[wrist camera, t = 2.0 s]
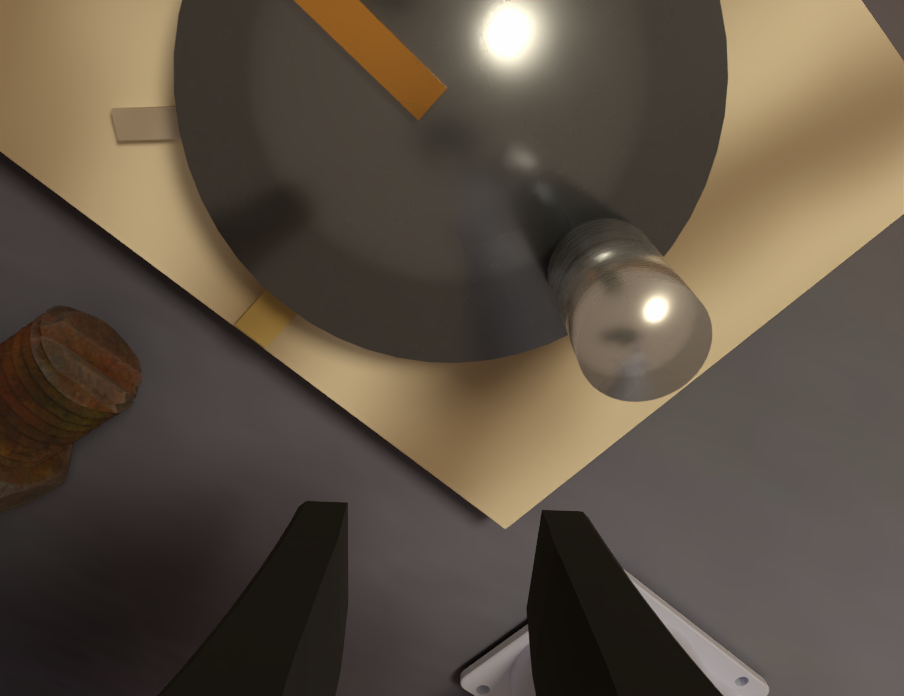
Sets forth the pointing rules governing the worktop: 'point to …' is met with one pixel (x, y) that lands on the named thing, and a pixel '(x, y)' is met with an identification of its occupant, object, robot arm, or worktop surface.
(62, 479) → the bolt
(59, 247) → the worktop surface
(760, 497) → the worktop surface
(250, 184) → the dial
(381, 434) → the board
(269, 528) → the worktop surface
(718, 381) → the worktop surface
